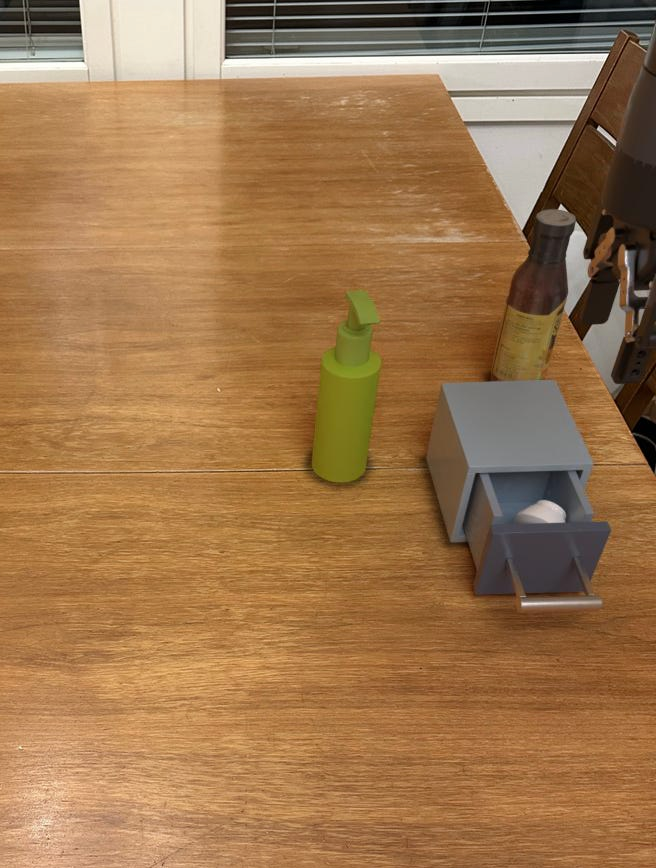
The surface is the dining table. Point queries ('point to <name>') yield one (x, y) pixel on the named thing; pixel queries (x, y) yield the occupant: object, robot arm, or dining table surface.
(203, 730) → the dining table surface
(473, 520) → the compartment
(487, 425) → the drawer unit
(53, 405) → the dining table surface
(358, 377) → the soap dispenser
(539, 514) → the white jar
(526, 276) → the sauce bottle
